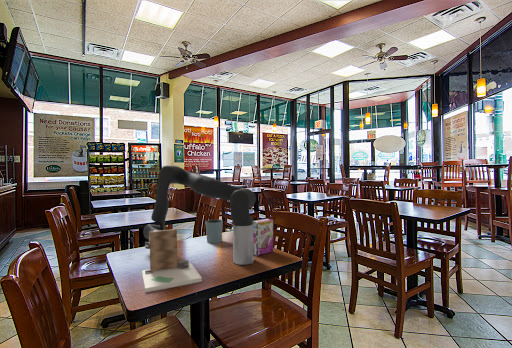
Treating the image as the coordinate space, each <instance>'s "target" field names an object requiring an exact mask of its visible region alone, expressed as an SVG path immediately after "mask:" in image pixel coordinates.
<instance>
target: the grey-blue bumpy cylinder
mask: <svg viewBox="0 0 512 348" xmlns="http://www.w3.org/2000/svg"><path fill="white" fill-rule="evenodd" d="M223 223H224V221H223V220H222V219H208V220H205V230H206V231H205V232H206V243H208V244H210V245H211V244H213V245H214V244H220V243H222V242H223V226H224V225H223Z"/></svg>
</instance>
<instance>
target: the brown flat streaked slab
mask: <svg viewBox="0 0 512 348" xmlns="http://www.w3.org/2000/svg"><path fill="white" fill-rule="evenodd" d="M177 234H178V229H177V228H173V229H172V228H171V229H165V230H161V231H152V232H149V237H150V249H149V264H150V265H149V266H150V268H149V269H150V270H148V269H147V270H148V271H145V273H147V272H153V271H159V270H165V269H171V268H177V267H178V268H187V267H188V266H189V263H190V262H189V261H190V260H187V259H181V260H179V261H178V235H177ZM177 265H178V266H177Z"/></svg>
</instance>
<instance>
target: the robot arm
mask: <svg viewBox="0 0 512 348" xmlns="http://www.w3.org/2000/svg"><path fill="white" fill-rule="evenodd" d="M157 178H158V181H157V187H156V196H155V202H154V207H153V209H152V213H151V216H150V219H151V220H152V222H154V223H157V224H153V223H152V224H151V223H149V224H146V225H145V226H144V228H143V231H142V233H143V236H144V238H145V239H147V240H148V241H145V242H144V249H148V250H150V237H149V232H152V231H161V230H166V217H167V215H168V211H169V207H170V206H169V204H170V203H169V200H168V199H169V198H168V191H169V188H170V185H171V184H173V185H174V184H175V185H177V184H178V185H183V186H186V187H188V188H190V189H191V190H192V191H193V192H195V193H197V194H198V195H202V196H205V197H207V198H208V197H209V198H213V199H219V200H220V199H221V200H226V201H230V202H229V203H230V218H231V220H232V249H233V250H232V255H233V256H232V257H233V258H232V260H233V261H232V262H233V263H234V264H236V265H239V266H240V265H241V266H245V265H251V264H252V265H253V264H254V262H255V255H254V239H253V221H254V219H253V217H252V216H251V215H250V213H251V212H250V208H251V207H252V206H254V205H255V203H256V201H257V200H256V199H257V196H256V194H255V193H254V191H253V190H251V189H249V188H246V187H241V186H235V185H232V184H228V183H227V182H223V181H221V180H219V179H216V178H213V177H210V176H207V175H203V174H199V173H195V172H190V171H189V170H186V169H184V168H182V167H180V166H177V165H170V164H169V165H167V164H166V165H163V166H162V167H161V169H160V170H159V173H158V177H157ZM158 224H159V225H158Z"/></svg>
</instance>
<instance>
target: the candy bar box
mask: <svg viewBox="0 0 512 348" xmlns="http://www.w3.org/2000/svg"><path fill="white" fill-rule="evenodd" d="M253 239H254V257H255V256H256V257H258V256H262V255H266V254H269V253H272V252H274V219H270V218H264V219H258V220H253Z"/></svg>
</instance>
